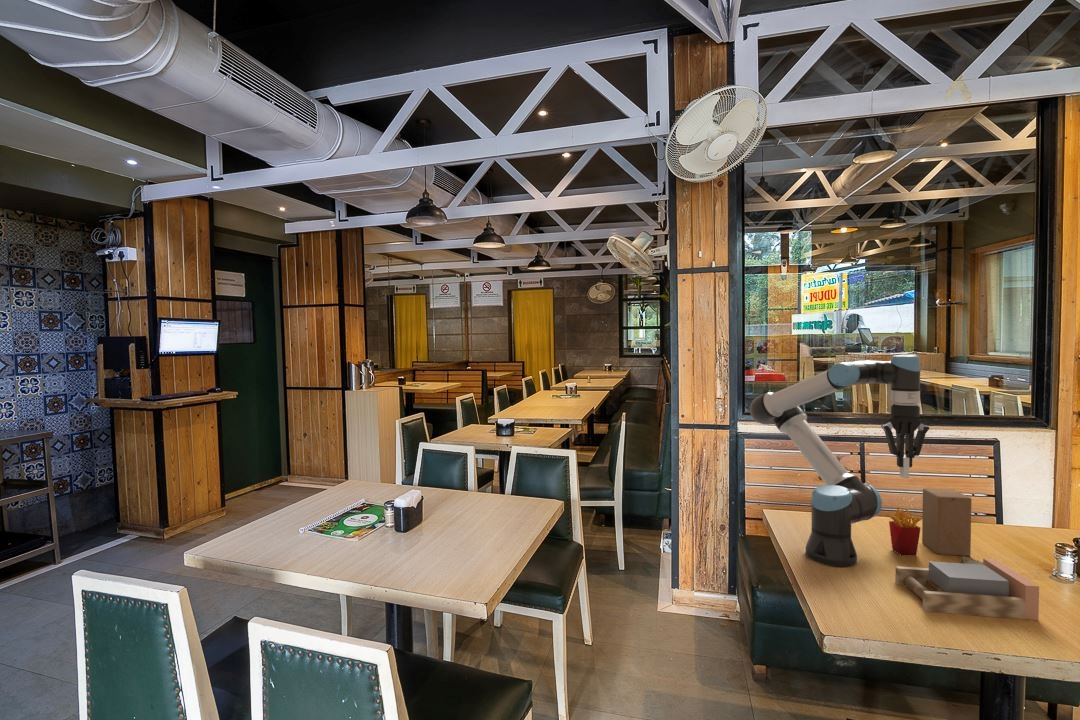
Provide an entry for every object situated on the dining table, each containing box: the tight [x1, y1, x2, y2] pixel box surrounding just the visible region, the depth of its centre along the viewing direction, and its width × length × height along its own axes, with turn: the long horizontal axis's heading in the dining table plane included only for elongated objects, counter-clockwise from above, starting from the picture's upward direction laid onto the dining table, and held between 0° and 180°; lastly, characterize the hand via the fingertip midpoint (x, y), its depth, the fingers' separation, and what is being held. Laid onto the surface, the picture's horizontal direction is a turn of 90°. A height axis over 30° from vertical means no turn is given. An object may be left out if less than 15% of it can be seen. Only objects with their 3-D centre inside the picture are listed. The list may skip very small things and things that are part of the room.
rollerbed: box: [894, 565, 1026, 620], centre depth 142 cm, size 23×16×5 cm
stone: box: [961, 556, 983, 565], centre depth 156 cm, size 15×8×3 cm, turn 23°
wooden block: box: [921, 488, 972, 557], centre depth 174 cm, size 10×10×20 cm
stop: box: [982, 558, 1040, 621], centre depth 139 cm, size 3×16×9 cm, turn 169°
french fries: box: [885, 506, 922, 557], centre depth 174 cm, size 9×8×15 cm
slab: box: [928, 560, 1009, 597], centre depth 141 cm, size 14×10×5 cm
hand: (904, 477), depth 161 cm, fingers closed
